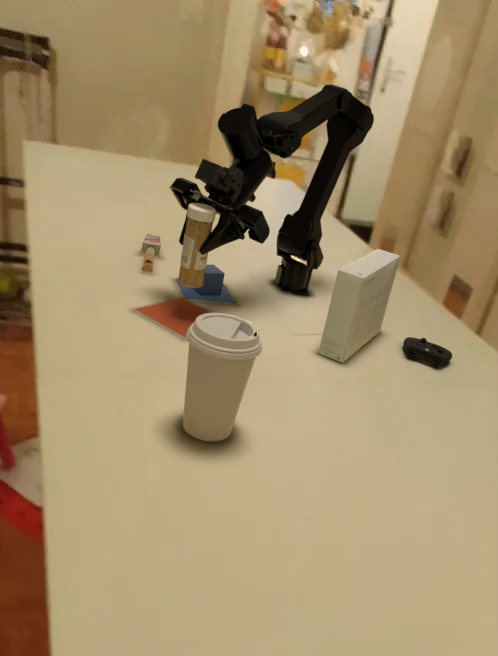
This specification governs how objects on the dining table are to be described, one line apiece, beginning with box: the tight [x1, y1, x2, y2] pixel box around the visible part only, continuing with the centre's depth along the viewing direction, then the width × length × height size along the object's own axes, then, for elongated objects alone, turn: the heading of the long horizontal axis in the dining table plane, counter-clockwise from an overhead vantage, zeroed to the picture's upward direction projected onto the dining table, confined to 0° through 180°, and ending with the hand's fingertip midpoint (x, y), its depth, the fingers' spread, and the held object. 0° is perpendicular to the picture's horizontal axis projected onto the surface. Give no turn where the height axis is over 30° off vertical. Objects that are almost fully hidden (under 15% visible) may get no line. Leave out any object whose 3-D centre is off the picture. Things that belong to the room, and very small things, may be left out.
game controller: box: [403, 336, 453, 368], centre depth 129 cm, size 10×5×6 cm
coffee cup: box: [182, 312, 263, 442], centre depth 87 cm, size 10×10×15 cm
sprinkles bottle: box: [176, 203, 217, 288], centre depth 113 cm, size 5×5×14 cm
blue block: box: [193, 264, 226, 295], centre depth 131 cm, size 4×4×4 cm
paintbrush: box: [140, 233, 162, 273], centre depth 142 cm, size 4×3×20 cm
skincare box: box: [318, 248, 402, 364], centre depth 124 cm, size 21×5×16 cm, turn 154°
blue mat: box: [175, 278, 237, 304], centre depth 132 cm, size 10×10×1 cm
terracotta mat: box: [134, 297, 211, 338], centre depth 119 cm, size 12×12×1 cm
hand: (190, 248), depth 112 cm, fingers closed on sprinkles bottle, 4 cm apart
